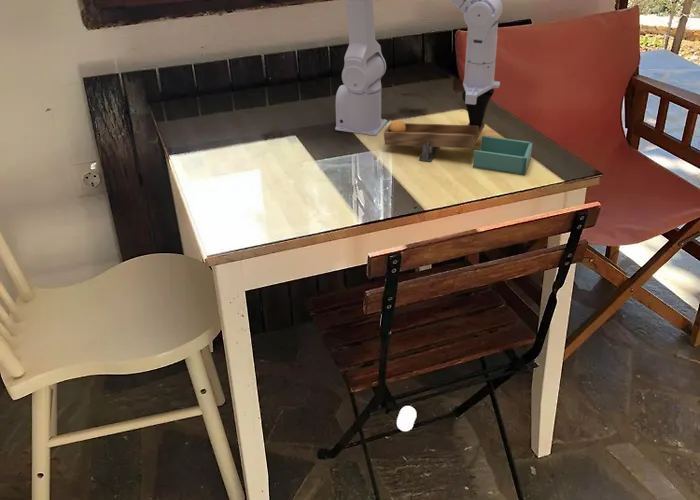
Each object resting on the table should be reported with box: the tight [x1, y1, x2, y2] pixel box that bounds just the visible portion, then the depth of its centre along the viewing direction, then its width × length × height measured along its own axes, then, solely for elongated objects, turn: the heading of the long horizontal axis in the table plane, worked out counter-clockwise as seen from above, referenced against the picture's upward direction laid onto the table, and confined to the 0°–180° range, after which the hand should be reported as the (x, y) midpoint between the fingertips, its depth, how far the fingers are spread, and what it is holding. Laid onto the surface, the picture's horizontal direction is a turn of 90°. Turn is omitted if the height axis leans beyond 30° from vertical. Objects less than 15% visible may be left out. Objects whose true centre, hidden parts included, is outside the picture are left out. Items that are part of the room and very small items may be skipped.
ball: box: [389, 119, 406, 132], centre depth 146 cm, size 3×3×3 cm
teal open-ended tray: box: [472, 134, 534, 176], centre depth 141 cm, size 10×8×4 cm
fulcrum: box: [418, 143, 441, 163], centre depth 145 cm, size 2×8×4 cm, turn 159°
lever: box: [383, 120, 486, 149], centre depth 146 cm, size 18×12×3 cm, turn 69°
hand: (475, 125), depth 146 cm, fingers closed, pressing on lever
